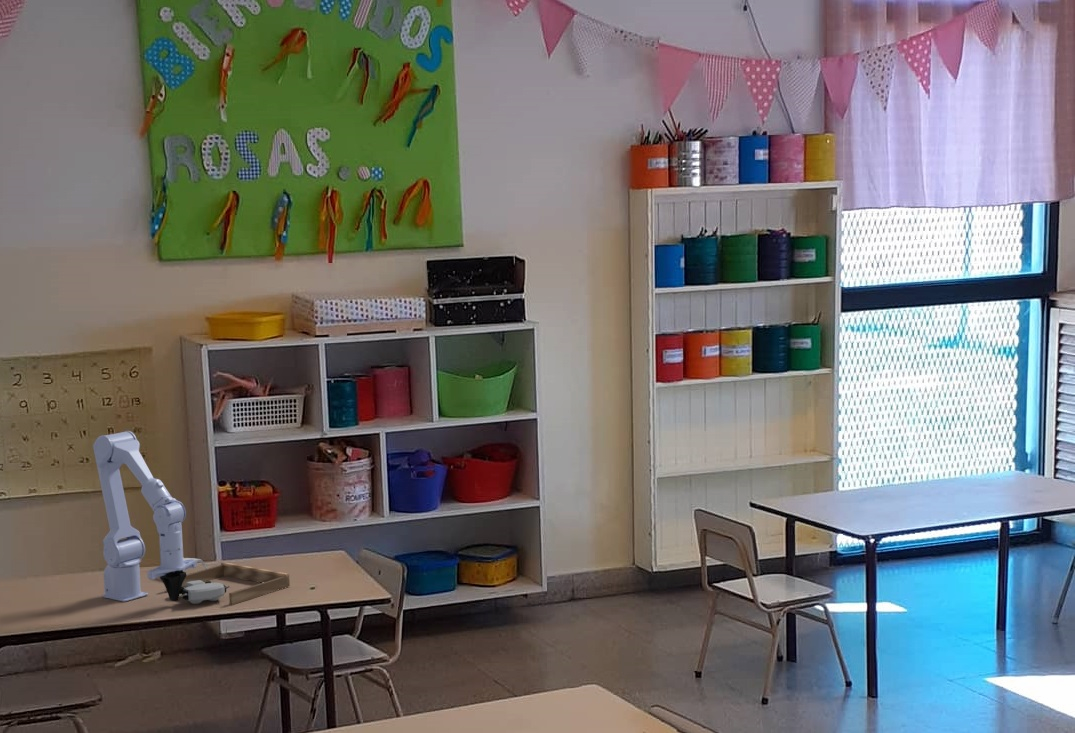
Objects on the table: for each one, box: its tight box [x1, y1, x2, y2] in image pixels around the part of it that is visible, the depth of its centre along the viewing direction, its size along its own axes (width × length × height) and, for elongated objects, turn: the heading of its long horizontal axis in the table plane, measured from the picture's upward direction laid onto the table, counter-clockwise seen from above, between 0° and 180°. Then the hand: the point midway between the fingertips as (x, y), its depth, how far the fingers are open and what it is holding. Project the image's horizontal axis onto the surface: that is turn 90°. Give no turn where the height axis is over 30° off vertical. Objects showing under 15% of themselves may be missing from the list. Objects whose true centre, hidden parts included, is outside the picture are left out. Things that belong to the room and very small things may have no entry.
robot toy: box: [180, 580, 232, 605], centre depth 362 cm, size 12×4×15 cm
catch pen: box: [165, 561, 291, 606], centre depth 372 cm, size 26×20×4 cm
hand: (174, 600), depth 357 cm, fingers closed
